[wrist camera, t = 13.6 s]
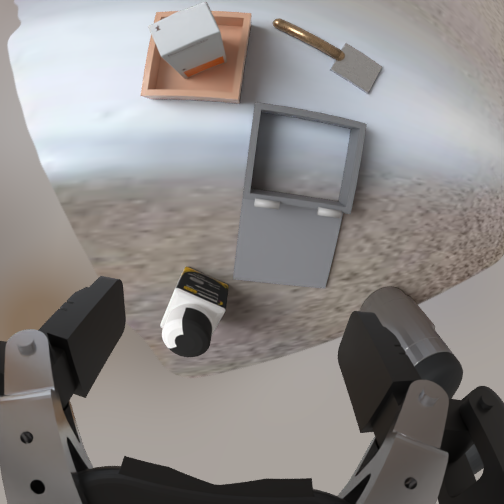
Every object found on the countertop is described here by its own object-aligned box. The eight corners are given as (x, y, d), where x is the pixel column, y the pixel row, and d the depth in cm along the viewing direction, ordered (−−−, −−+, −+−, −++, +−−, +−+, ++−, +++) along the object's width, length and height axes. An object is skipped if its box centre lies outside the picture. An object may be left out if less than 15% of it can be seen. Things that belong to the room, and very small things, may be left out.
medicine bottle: (229, 284, 44) (223, 333, 33) (210, 319, 46) (201, 371, 35) (185, 265, 43) (166, 309, 32) (170, 301, 45) (149, 350, 34)
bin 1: (251, 24, 30) (251, 13, 26) (239, 103, 34) (238, 99, 31) (164, 22, 29) (156, 12, 26) (150, 99, 34) (140, 95, 30)
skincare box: (185, 80, 32) (159, 58, 21) (174, 55, 31) (145, 25, 20) (229, 62, 32) (221, 31, 20) (217, 37, 30) (205, -1, 19)
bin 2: (356, 124, 35) (368, 123, 31) (324, 286, 44) (330, 300, 40) (254, 105, 34) (255, 101, 30) (233, 277, 44) (231, 291, 40)
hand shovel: (264, 36, 31) (265, 32, 29) (281, 11, 29) (282, 6, 28) (366, 93, 34) (371, 91, 32) (380, 67, 32) (385, 65, 30)
